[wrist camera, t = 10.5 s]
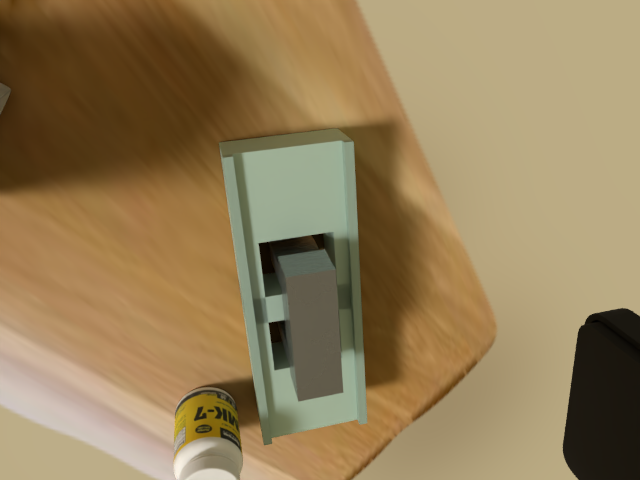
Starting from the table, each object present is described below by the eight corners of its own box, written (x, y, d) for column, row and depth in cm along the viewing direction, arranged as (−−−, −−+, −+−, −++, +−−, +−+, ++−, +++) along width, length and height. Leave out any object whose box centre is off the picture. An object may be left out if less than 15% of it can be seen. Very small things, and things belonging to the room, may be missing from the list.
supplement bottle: (245, 393, 45) (258, 472, 37) (222, 439, 46) (230, 525, 38) (188, 378, 43) (189, 457, 36) (165, 426, 44) (161, 513, 37)
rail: (218, 142, 37) (222, 157, 33) (337, 128, 38) (353, 141, 35) (257, 409, 46) (264, 445, 42) (352, 390, 47) (367, 422, 43)
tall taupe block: (266, 228, 40) (285, 277, 33) (308, 222, 40) (335, 269, 33) (279, 335, 43) (298, 401, 36) (317, 329, 44) (343, 392, 37)
